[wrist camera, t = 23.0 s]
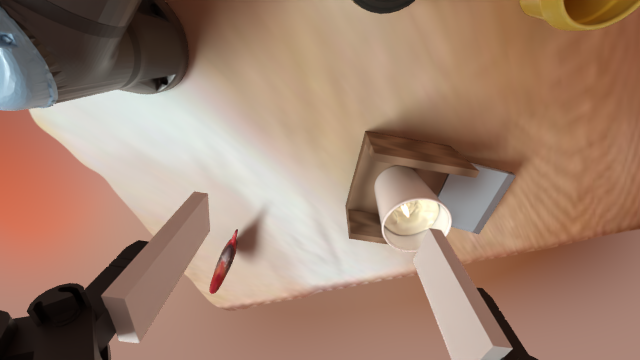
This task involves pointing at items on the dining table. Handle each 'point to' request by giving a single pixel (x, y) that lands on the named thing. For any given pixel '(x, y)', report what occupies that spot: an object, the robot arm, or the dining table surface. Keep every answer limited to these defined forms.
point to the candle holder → (408, 208)
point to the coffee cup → (383, 5)
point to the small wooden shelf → (389, 152)
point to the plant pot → (579, 12)
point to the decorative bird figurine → (224, 264)
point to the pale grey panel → (474, 196)
